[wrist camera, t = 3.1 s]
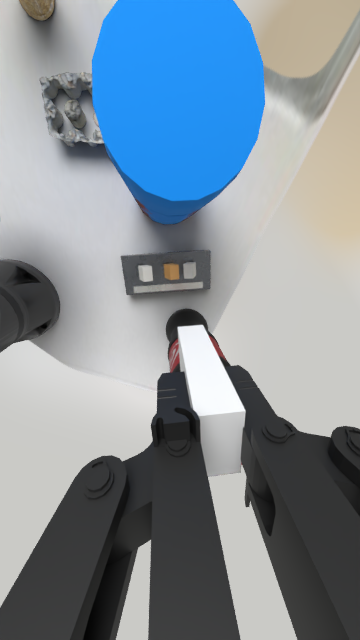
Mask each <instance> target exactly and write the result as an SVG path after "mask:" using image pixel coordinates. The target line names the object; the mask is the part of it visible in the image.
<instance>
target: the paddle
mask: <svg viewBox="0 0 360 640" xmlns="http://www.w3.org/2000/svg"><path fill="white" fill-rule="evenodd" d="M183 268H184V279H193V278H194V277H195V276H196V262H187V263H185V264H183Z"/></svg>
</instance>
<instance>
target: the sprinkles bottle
mask: <svg viewBox="0 0 360 640" xmlns="http://www.w3.org/2000/svg"><path fill="white" fill-rule="evenodd" d="M19 1H20V3H21V5H22V7H23V8H24V10H25V11H26V12H27V13H28V14H29V15H30V16H31V17H33V18H34V19H37V20H40V21H41V20H43V21H44V20H46V19H48V18H49V17H50V16H51V14H52V13H53V10H54V0H19Z"/></svg>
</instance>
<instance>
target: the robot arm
mask: <svg viewBox="0 0 360 640" xmlns="http://www.w3.org/2000/svg"><path fill="white" fill-rule="evenodd" d="M59 311H60V302H59V297H58V294H57V292H56V290H55V288H54V286H53V284H52V283H51V282H50V280H49V279H48V278H47V277H46V276H45V275H44V274H43V273H41V272H40V271H39V270H37V269H36V268H34V267H33V266H31V265H29V264H26V263H24V262H21V261H16V260H9V259H3V260H0V352H2V351H3V350H4V349H6V348H7V347H8V346H10V345H11V344H13V343H16V342H20V341H24V340H29V339H33V338H35V337H38V336H40V335H42V334H43V333H44V332H46V331H47V330H48V329H49V328H51V327H52V326H53V325H54V323H55V322H56V320H57V318H58V315H59ZM178 342H179V358H180V370H181V372H172V373H162V375H161V377H160V378H159V380H158V386H157V391H158V392H157V414H156V415H155V416H154V417H153V420H152V423H151V430H152V437H153V442H152V443H151V445H150V446H149V447H148V448H147V449H145V450H144V451H143V452H141V453H140V454H138V455H136V456H134V457H132V458H129V459H128V460H125V461H123V462H122V461H121V460H120V458H117V457H114V456H101V457H99V458H97V459H95V460H92V461H91V462H90V463H88V464H87V465H86V466H85V467H83V468H82V469H81V471H80V472H79V473H78V475H77V476H76V477H75V479H74V480H73V482H72V484H71V486H70V487H69V489H68V491H67V493H66V495H65V496H64V498H63V500H62V501H61V503H60V505H59V506H58V508H57V510H56V512H55V514H54V515H53V517H52V519H51V521H50V522H49V524H48V526H47V528H46V529H45V531H44V533H43V534H42V536H41V538H40V540H39V541H38V543H37V545H36V546H35V548H34V550H33V552H32V554H31V555H30V557H29V559H28V560H27V562H26V564H25V566H24V567H23V569H22V571H21V573H20V574H19V576H18V578H17V580H16V581H15V583H14V585H13V587H12V588H11V590H10V592H9V594H8V595H7V597H6V599H5V600H4V602H3V604H2V606H1V608H0V640H116V636H117V632H118V628H119V623H120V620H121V616H122V611H123V607H124V603H125V599H126V595H127V591H128V587H129V583H130V579H131V574H132V570H133V566H134V562H135V558H136V554H137V550H138V547H140V546H141V545H143V544H145V543H146V542H148V541H149V540H151V567H150V568H151V569H150V602H149V603H150V604H149V637H148V638H149V639H148V640H240V635H239V630H238V625H237V620H236V615H235V610H234V606H233V600H232V595H231V590H230V585H229V580H228V575H227V570H226V565H225V561H224V555H223V550H222V545H221V540H220V535H219V531H218V525H217V521H216V516H215V511H214V506H213V501H212V496H211V491H210V486H209V481H208V477H209V476H218V475H225V474H233V473H240V472H241V462H242V465H243V468H244V470H245V473H246V476H247V479H246V490H245V505H246V507H249V503H250V501H251V504H252V507H253V510H254V513H255V516H256V519H257V522H258V525H259V528H260V531H261V534H262V537H263V539H264V543H265V546H266V548H267V551H268V554H269V557H270V560H271V563H272V566H273V569H274V572H275V575H276V578H277V581H278V584H279V587H280V590H281V592H282V595H283V598H284V601H285V604H286V607H287V610H288V613H289V616H290V619H291V622H292V625H293V628H294V630H295V634H296V637H297V640H360V429H358V428H355V427H348V426H343V427H337V428H336V429H335V430H334V431H333V432H332V435H331V438H330V437H325V436H319V435H313V434H307V433H303V432H300V431H298V430H297V429H296V428H295V427H294V426H293V425H292V424H291V423H290V422H288V421H286V420H285V419H283V418H281V417H278V416H277V415H276V414H275V412H274V411H273V409H272V408H271V406H270V405H269V403H268V402H267V400H266V399H265V397H264V395H263V394H262V392H261V391H260V389H259V388H258V387H257V385H256V383H255V382H254V381H253V379H252V377H251V376H250V374H249V373H248V371H246V370H245V369H243V368H242V367H241V366H239V365H237V366H226V367H224V366H223V364H222V362H221V360H220V358H219V356H218V354H217V352H216V350H215V348H214V346H213V344H212V342H211V340H210V338H209V336H208V334H207V332H206V330H205V328H204V326H203V325H195V326H183V327H178Z"/></svg>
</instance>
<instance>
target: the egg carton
mask: <svg viewBox="0 0 360 640" xmlns="http://www.w3.org/2000/svg"><path fill="white" fill-rule="evenodd" d="M40 83H41V85H42V91H43V93H42V97H43V100H44V108H45V114H46V120H47V123H48V131H49V135H50V136H52V137H55V138H58V139H62V140H63V141H64V142H65V143H66V144H67V145H68V146H75V142H78V141H83V142H88V143H89V145H90V146H97V143H100V144H101V143H104V141H103V138H102V134H101V131H97V130H95V132H94V133H93V140H92V139H91V138H87V137H86V136H84V135H83V133H82V132H81V131H80V130H77V129H72V130H69V133H68V136H67V137H66V136H65V135H64V134H63V133H60V134H59V133H58V130H59V128H60V127H61V125H62V124H63V116H62V114H61V113H60V112H59V110H58V109H57V108H56V106H55V105H54V104H53V102H52V101H51V99H53V98H55V97H56V96H57V93H58V89H64V90H65V91H66V93H67V94H68V96H69V97H70V98H72V99H74V100H69V101H67V102H66V104H65V109H64V112H65V114H66V116H67V117H68V119H69V120H70V121H71V122H72V124H73V125H74V126H75V127H77V128H82V127H84V125H85V124H86V117H85V114H84V112H83V111H82V109H81V107H80V105H79V103H78V101H77V100H76V99H77V98H79V97H80V95H81V92H82V91H84V90H89V92H90V94H91V95H92V74H88V73H82V72H81V73H80V74H77V73H73V74H72V73H63V74H59V75H57V76H52V77H51V78H49V79H48V78H46V77H41V78H40ZM93 119H94V122H95V124H96V125H97V126H98V127H99V124H98V120H97V117H96V113H95V112H94V115H93ZM86 138H87V139H88V140H87V139H86Z"/></svg>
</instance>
